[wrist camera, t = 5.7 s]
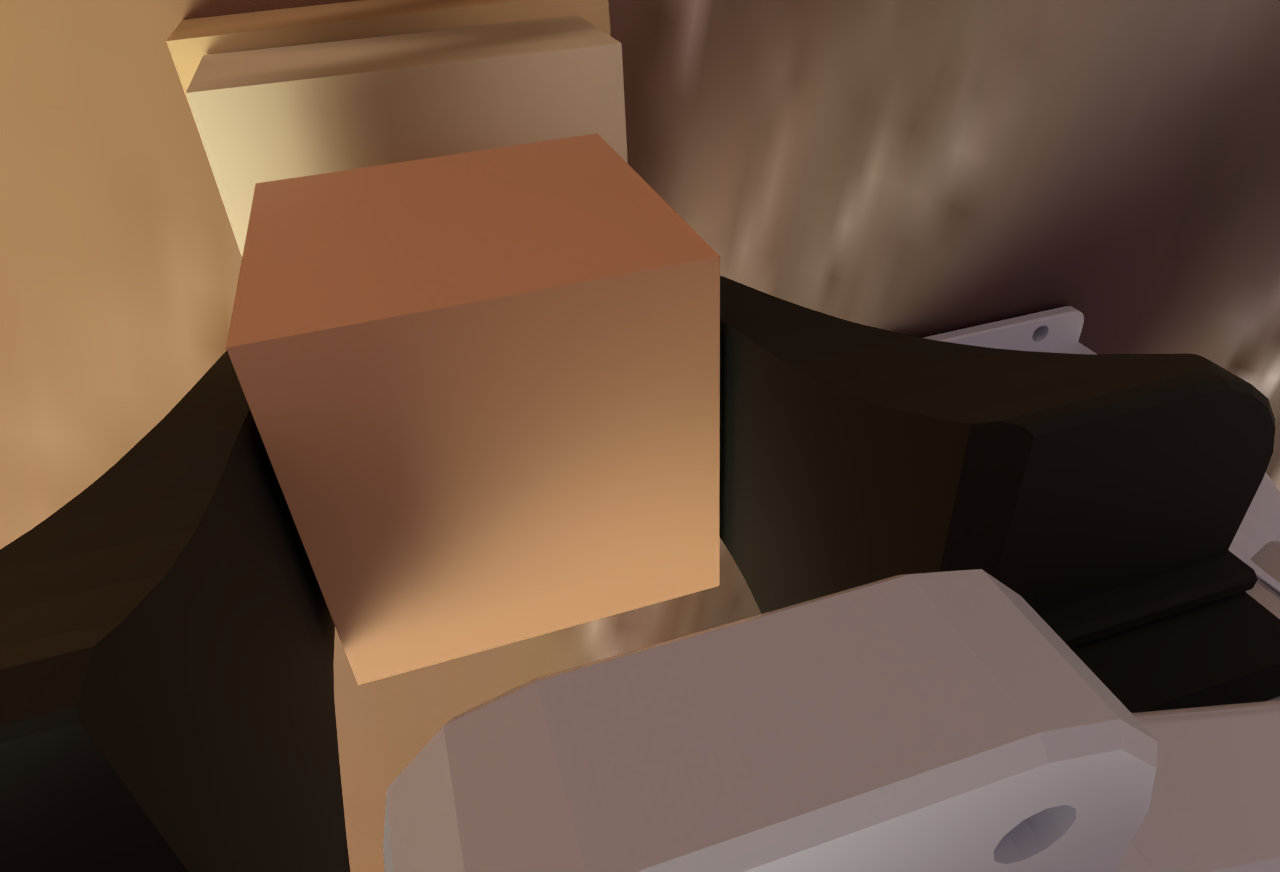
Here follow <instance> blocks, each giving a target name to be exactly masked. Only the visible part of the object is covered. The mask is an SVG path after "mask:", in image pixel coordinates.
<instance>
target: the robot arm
mask: <svg viewBox="0 0 1280 872" xmlns="http://www.w3.org/2000/svg"><path fill="white" fill-rule="evenodd" d="M1083 324H1084V316H1083V313H1082V312H1080V311H1078V310H1077V309H1075V308H1073V307H1072V306H1065V307H1060V308H1056V309H1051V310H1047V311H1042V312H1038V313H1033V314H1028V315H1024V316H1019V317H1015V318H1010V319H1006V320H1001V321H996V322H992V323H987V324H983V325H978V326H974V327H969V328H965V329H960V330H955V331H951V332H946V333H942V334H937V335H933V336H928V337H923V338H920V337H914V336H909V335H905V334H900V333H896V332H891V331H887V330H883V329H878V328H874V327H869V326H865V325H861V324H857V323H854V322H850V321H846V320H843V319H839V318H836V317H833V316H830V315H827V314H824V313H821V312H817V311H814V310H811V309H808V308H805V307H802V306H799V305H796V304H793V303H790V302H788V301H785V300H782V299H779V298H777V297H774V296H771V295H769V294H766V293H763V292H761V291H758V290H756V289H753V288H751V287H748V286H745V285H743V284H740V283H738V282H735V281H733V280H730V279H728V278H725V277H723V276H720V488H719V536H720V538H721V539H722V541H723V542H724V544H725V546H726V547H727V549H728V550H729V552H730V553H731V555H732V557H733V559H734V560H735V562H736V564H737V566H738V567H739V569H740V571H741V573H742V574H743V576H744V578H745V580H746V582H747V584H748V586H749V588H750V590H751V592H752V594H753V596H754V599H755V601H756V603H757V605H758V607H759V609H760V611H761V613H762V614H760V615H757V616H753V617H750V618H746V619H743V620H739V621H736V622H732V623H729V624H725V625H722V626H718V627H715V628H711V629H708V630H704V631H701V632H697V633H694V634H690V635H687V636H683V637H680V638H676V639H673V640H669V641H666V642H662V643H659V644H655V645H652V646H648V647H645V648H641V649H638V650H634V651H631V652H627V653H624V654H620V655H617V656H613V657H610V658H606V659H603V660H599V661H596V662H592V663H589V664H585V665H582V666H578V667H575V668H571V669H568V670H564V671H561V672H557V673H554V674H550V675H547V676H543V677H540V678H536V679H533V680H531V681H529V682H527V683H525V684H523V685H521V686H519V687H517V688H515V689H512V690H510V691H508V692H506V693H504V694H502V695H500V696H498V697H496V698H494V699H492V700H489V701H487V702H485V703H483V704H481V705H479V706H477V707H475V708H473V709H471V710H468V711H466V712H464V713H462V714H460V715H458V716H456V717H454V718H453V719H451V720H450V721H449V722H448V723H446V724H445V725H444V726H443V727H442V728H441V729H440V730H439V731H438V732H437V733H436V735H435V736H434V737H433V738H432V739H431V740H430V741H429V742H428V743H427V744H426V746H425V747H424V748H423V749H422V750H421V751H420V752H419V753H418V754H417V756H416V757H415V758H414V759H413V760H412V761H411V762H410V763H409V764H408V765H407V767H406V768H405V769H404V770H403V771H402V772H401V773H400V774H399V775H398V777H397V778H396V779H395V780H394V781H393V782H392V783H391V784H390V785H389V786H388V788H387V796H386V811H385V825H384V840H383V851H384V866H385V872H1280V492H1279V490H1278V489H1277V487H1276V486H1275V484H1274V483H1273V481H1272V480H1271V478H1270V477H1269V476H1268V475H1267V474H1266V469H1267V467H1268V464H1269V461H1270V459H1271V456H1272V453H1273V445H1274V434H1275V418H1274V415H1273V412H1272V409H1271V406H1270V403H1269V400H1268V398H1266V397H1265V396H1264V395H1263V394H1262V393H1261V392H1260V391H1258V390H1257V389H1256V388H1255V387H1254V386H1253V385H1251V384H1250V383H1248V382H1246V381H1244V380H1243V379H1241V378H1239V377H1237V376H1236V375H1234V374H1232V373H1230V372H1229V371H1227V370H1225V369H1223V368H1222V367H1220V366H1218V365H1217V364H1215V363H1213V362H1211V361H1210V360H1208V359H1206V358H1204V357H1201V356H1199V355H1195V354H1096V353H1095V352H1093V351H1092V350H1090V349H1089V348H1087V347H1086V346H1084V345H1083V344H1081V343H1079V342H1078V341H1079V338H1080V334H1081V331H1082V327H1083ZM1037 328H1038V329H1037ZM1036 329H1037V331H1036V332H1035V330H1036ZM1034 332H1035V333H1034ZM334 635H335V624H334V622H333V619H332V617H331V614H330V612H329V609H328V607H327V604H326V602H325V599H324V596H323V594H322V591H321V589H320V586H319V584H318V581H317V579H316V576H315V573H314V571H313V568H312V566H311V563H310V561H309V558H308V556H307V553H306V550H305V548H304V545H303V543H302V540H301V538H300V535H299V533H298V530H297V527H296V525H295V522H294V520H293V517H292V515H291V512H290V510H289V507H288V504H287V502H286V499H285V497H284V494H283V492H282V489H281V487H280V484H279V482H278V479H277V476H276V474H275V471H274V469H273V466H272V464H271V461H270V459H269V456H268V453H267V451H266V448H265V446H264V443H263V441H262V438H261V436H260V433H259V430H258V428H257V425H256V423H255V420H254V418H253V415H252V413H251V410H250V407H249V405H248V402H247V400H246V397H245V395H244V392H243V390H242V387H241V385H240V382H239V379H238V377H237V374H236V372H235V369H234V367H233V364H232V362H231V359H230V356H229V354H228V351H226V352H225V353H224V354H223V355H222V356H221V357H220V358H219V359H218V361H217V362H216V363H215V364H214V365H213V366H212V367H211V368H210V369H209V370H208V371H207V373H206V374H205V375H204V376H203V377H202V378H201V379H200V380H199V381H198V382H197V384H196V385H195V386H194V387H193V388H192V389H191V390H190V391H189V392H188V393H187V394H186V395H185V396H184V397H183V398H182V400H181V401H180V402H179V403H178V404H177V405H176V406H175V407H174V408H173V409H172V410H171V411H170V412H169V413H168V414H167V415H166V416H165V418H164V419H163V420H162V421H160V422H159V423H158V424H157V425H156V426H155V427H154V428H153V429H152V430H151V431H150V432H149V433H148V434H147V435H146V436H145V437H144V438H143V439H141V440H140V441H139V442H138V443H137V444H136V445H135V446H134V447H133V448H132V449H131V450H130V451H129V452H128V453H127V454H126V455H125V456H123V457H122V458H121V459H120V460H119V461H118V462H117V463H116V464H115V465H114V466H113V467H112V468H110V469H109V470H108V471H107V472H106V473H105V474H103V475H102V476H101V477H100V478H99V479H98V480H96V481H95V482H94V483H93V484H91V485H90V486H89V487H88V488H87V489H85V490H84V491H83V492H82V493H80V494H79V495H78V496H76V497H75V498H74V499H72V500H71V501H70V502H68V503H67V504H66V505H64V506H63V507H62V508H60V509H59V510H58V511H56V512H55V513H54V514H53V515H51V516H50V517H49V518H47V519H46V520H44V521H43V522H42V523H40V524H39V525H37V526H36V527H35V528H33V529H32V530H30V531H29V532H27V533H25V534H24V535H22V536H21V537H19V538H18V539H16V540H15V541H13V542H11V543H10V544H8V545H7V546H5V547H4V548H2V549H1V550H0V872H350V866H349V857H348V848H347V839H346V829H345V818H344V808H343V797H342V787H341V776H340V766H339V754H338V741H337V729H336V717H335V704H334V675H333V659H334Z"/></svg>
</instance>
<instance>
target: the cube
mask: <svg viewBox="0 0 1280 872" xmlns="http://www.w3.org/2000/svg"><path fill="white" fill-rule="evenodd" d="M226 349H227V351H228V354H229V356H230V359H231V362H232V364H233V367H234V369H235V372H236V374H237V377H238V379H239V382H240V385H241V387H242V390H243V392H244V395H245V397H246V400H247V402H248V405H249V407H250V410H251V413H252V415H253V418H254V420H255V423H256V425H257V428H258V430H259V433H260V436H261V438H262V441H263V443H264V446H265V448H266V451H267V453H268V456H269V459H270V461H271V464H272V466H273V469H274V471H275V474H276V476H277V479H278V482H279V484H280V487H281V489H282V492H283V494H284V497H285V499H286V502H287V504H288V507H289V510H290V512H291V515H292V517H293V520H294V522H295V525H296V527H297V530H298V533H299V535H300V538H301V540H302V543H303V545H304V548H305V550H306V553H307V556H308V558H309V561H310V563H311V566H312V568H313V571H314V573H315V576H316V579H317V581H318V584H319V586H320V589H321V591H322V594H323V596H324V599H325V602H326V604H327V607H328V609H329V612H330V614H331V617H332V619H333V622H334V624H335V627H336V630H337V632H338V635H339V637H340V640H341V642H342V645H343V647H344V650H345V653H346V655H347V658H348V660H349V663H350V665H351V668H352V670H353V673H354V676H355V678H356V681H357V683H358V685H361V684H365V683H368V682H372V681H376V680H379V679H383V678H386V677H390V676H394V675H397V674H401V673H405V672H408V671H412V670H415V669H419V668H423V667H426V666H430V665H434V664H437V663H441V662H445V661H448V660H452V659H455V658H459V657H463V656H466V655H470V654H474V653H477V652H481V651H484V650H488V649H492V648H495V647H499V646H503V645H506V644H510V643H513V642H517V641H521V640H524V639H528V638H532V637H535V636H539V635H543V634H546V633H550V632H553V631H557V630H561V629H564V628H568V627H572V626H575V625H579V624H582V623H586V622H590V621H593V620H597V619H601V618H604V617H608V616H612V615H615V614H619V613H622V612H626V611H630V610H633V609H637V608H641V607H644V606H648V605H651V604H655V603H659V602H662V601H666V600H670V599H673V598H677V597H681V596H684V595H688V594H691V593H695V592H699V591H702V590H706V589H710V588H713V587H717V586H719V488H720V256H719V255H718V254H717V253H716V252H715V251H714V250H713V249H712V248H711V247H710V246H709V245H708V244H707V243H706V242H705V241H704V240H703V239H702V238H701V237H700V236H699V235H698V234H697V233H696V232H695V231H694V230H693V229H692V228H691V227H690V226H689V225H688V224H687V223H686V222H685V221H684V220H683V219H682V218H681V217H680V216H679V215H678V214H677V213H676V212H675V211H674V210H673V209H672V208H671V207H670V206H669V205H668V204H667V203H666V202H665V201H664V200H663V199H662V198H661V197H660V196H659V195H658V194H657V193H656V192H655V191H654V190H653V189H652V188H651V187H650V186H649V185H648V184H647V183H646V182H645V181H644V180H643V179H642V178H641V176H640V175H639V174H638V173H637V172H636V171H635V170H634V169H633V168H632V167H631V166H630V165H629V164H628V163H627V162H626V161H625V160H624V159H623V158H622V157H621V156H620V155H619V154H618V153H617V152H616V151H615V150H614V149H613V148H612V147H611V146H610V145H609V144H608V143H607V142H606V141H605V140H604V139H603V138H602V137H601V136H600V135H599V134H598V133H596V134H589V135H583V136H576V137H569V138H562V139H555V140H548V141H542V142H535V143H528V144H521V145H514V146H507V147H501V148H494V149H487V150H480V151H473V152H467V153H460V154H453V155H446V156H439V157H432V158H426V159H419V160H412V161H405V162H398V163H391V164H385V165H378V166H371V167H364V168H357V169H350V170H344V171H337V172H330V173H323V174H316V175H310V176H303V177H296V178H289V179H282V180H275V181H269V182H262V183H256V184H255V190H254V195H253V201H252V206H251V212H250V218H249V223H248V229H247V234H246V240H245V245H244V251H243V257H242V262H241V268H240V273H239V279H238V284H237V290H236V296H235V301H234V307H233V312H232V318H231V323H230V329H229V335H228V340H227V346H226Z"/></svg>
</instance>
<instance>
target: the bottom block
mask: <svg viewBox="0 0 1280 872" xmlns="http://www.w3.org/2000/svg"><path fill="white" fill-rule="evenodd" d="M571 16H580V17H582V18H583V19H585V20H586V21H588V22H589V23H591V24H592V25H594V26H596V27H597V28H599V29H600V30H602V31H603V32H605V33H606V34H608V35H610V36H611V30H610V16H609V2H608V0H359V1H350V2H340V3H331V4H322V5H313V6H304V7H295V8H286V9H277V10H268V11H259V12H250V13H241V14H231V15H222V16H213V17H204V18H195V19H186V20H182V21H181V23H180V24H179V25H178V27H177V28H176V29H175V30H174V32H173V33H172V34H171V36H170V37H169V38H168V40H167V41H166V42H167V44H168V47H169V50H170V53H171V55H172V58H173V61H174V64H175V67H176V69H177V72H178V75H179V78H180V81H181V83H182V86H183V89H184V92H185V95H186V91H187V89H188V87H189V85H190V82H191V80H192V78H193V76H194V74H195V72H196V70H197V68H198V65H199V63H200V61H201V59H202V57H203V55H210V54H219V53H229V52H238V51H248V50H257V49H267V48H276V47H286V46H295V45H305V44H314V43H324V42H333V41H343V40H352V39H362V38H371V37H381V36H390V35H400V34H409V33H419V32H428V31H438V30H447V29H457V28H466V27H476V26H485V25H495V24H504V23H514V22H523V21H533V20H542V19H552V18H561V17H571ZM186 97H187V96H186ZM187 100H188V99H187ZM188 103H189V102H188ZM189 106H190V104H189ZM190 108H191V107H190ZM191 111H192V110H191ZM192 114H193V113H192ZM193 117H194V116H193ZM194 120H195V119H194Z"/></svg>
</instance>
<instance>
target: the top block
mask: <svg viewBox="0 0 1280 872" xmlns="http://www.w3.org/2000/svg"><path fill="white" fill-rule="evenodd" d="M186 96H187V99H188V102H189V104H190V107H191V110H192V113H193V116H194V119H195V122H196V125H197V128H198V131H199V134H200V136H201V139H202V142H203V145H204V148H205V151H206V154H207V157H208V160H209V163H210V166H211V168H212V171H213V174H214V177H215V180H216V183H217V186H218V189H219V192H220V195H221V198H222V200H223V203H224V206H225V209H226V212H227V215H228V218H229V221H230V224H231V227H232V230H233V232H234V235H235V238H236V241H237V244H238V247H239V250H240V253H241V256H242V257H243V251H244V245H245V240H246V234H247V229H248V223H249V218H250V212H251V206H252V201H253V195H254V190H255V184H256V183H262V182H269V181H275V180H282V179H289V178H296V177H303V176H310V175H316V174H323V173H330V172H337V171H344V170H350V169H357V168H364V167H371V166H378V165H385V164H391V163H398V162H405V161H412V160H419V159H426V158H432V157H439V156H446V155H453V154H460V153H467V152H473V151H480V150H487V149H494V148H501V147H507V146H514V145H521V144H528V143H535V142H542V141H548V140H555V139H562V138H569V137H576V136H583V135H589V134H596V133H598V134H599V135H600V136H601V137H602V138H603V139H604V140H605V141H606V142H607V143H608V144H609V145H610V146H611V147H612V148H613V149H614V150H615V151H616V152H617V153H618V154H619V155H620V156H621V157H622V158H623V159H624V160H625V161H626V162H627V163H628V160H627V140H626V121H625V101H624V81H623V62H622V43H620V42H619V41H617V40H616V39H614V38H613V37H611V36H610V35H608V34H606V33H605V32H603V31H602V30H600V29H599V28H597V27H596V26H594V25H592V24H591V23H589V22H588V21H586V20H585V19H583V18H582V17H580V16H571V17H561V18H552V19H542V20H533V21H523V22H514V23H504V24H495V25H485V26H476V27H466V28H457V29H447V30H438V31H428V32H419V33H409V34H400V35H390V36H381V37H371V38H362V39H352V40H343V41H333V42H324V43H314V44H305V45H295V46H286V47H276V48H267V49H257V50H248V51H238V52H229V53H219V54H210V55H203V57H202V59H201V61H200V63H199V65H198V68H197V70H196V72H195V74H194V76H193V78H192V80H191V82H190V85H189V87H188V89H187V91H186Z"/></svg>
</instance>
